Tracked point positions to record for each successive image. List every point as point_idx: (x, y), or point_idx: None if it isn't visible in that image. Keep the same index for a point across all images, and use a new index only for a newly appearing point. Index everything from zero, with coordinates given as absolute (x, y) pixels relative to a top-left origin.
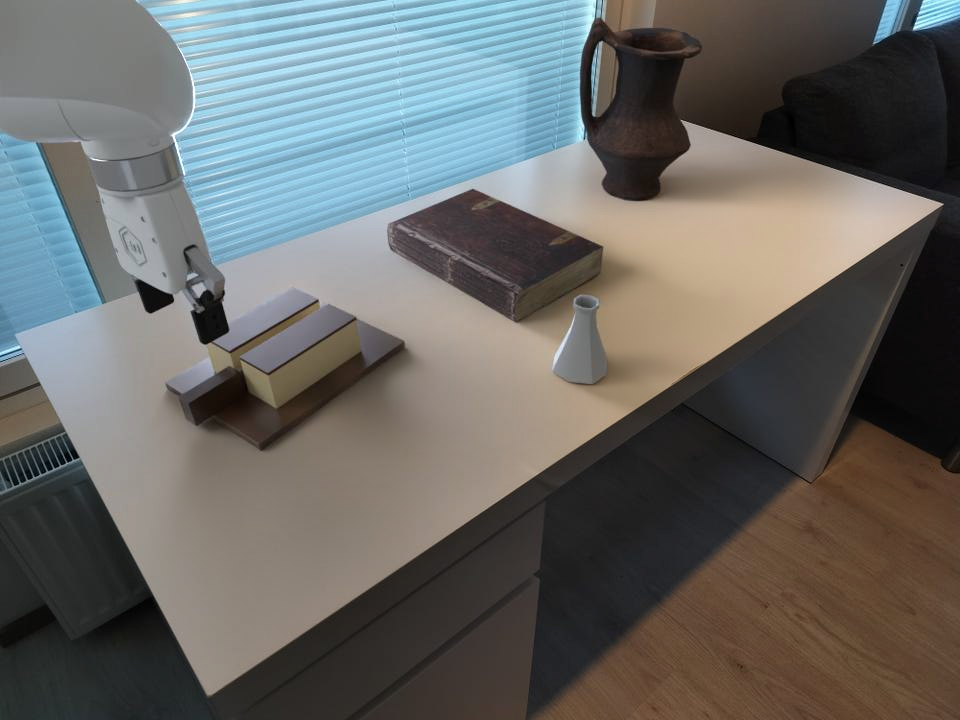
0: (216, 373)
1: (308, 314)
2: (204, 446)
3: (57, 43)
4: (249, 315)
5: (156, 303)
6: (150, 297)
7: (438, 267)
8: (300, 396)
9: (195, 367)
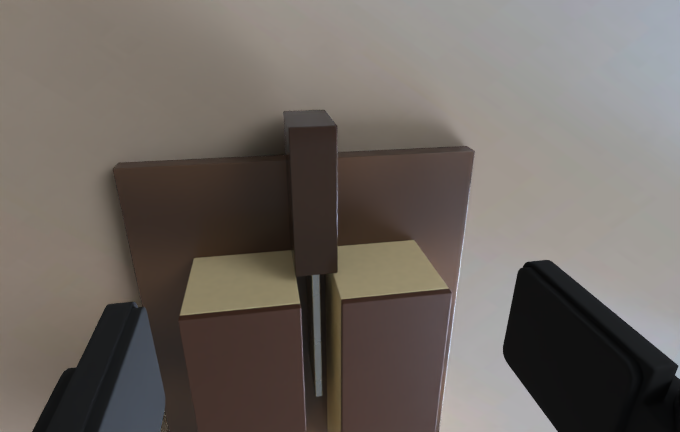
0: (337, 238)
1: None
2: (231, 89)
3: None
4: (422, 397)
5: (531, 315)
6: (560, 327)
7: None
8: None
9: (457, 221)
